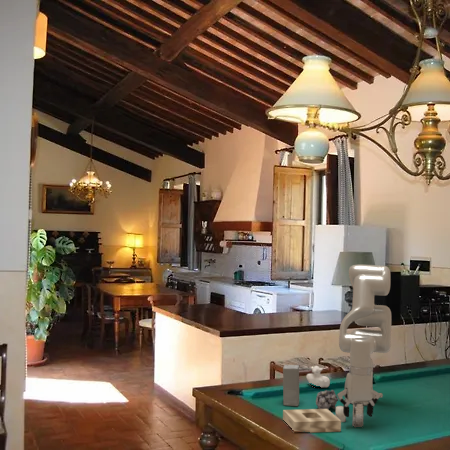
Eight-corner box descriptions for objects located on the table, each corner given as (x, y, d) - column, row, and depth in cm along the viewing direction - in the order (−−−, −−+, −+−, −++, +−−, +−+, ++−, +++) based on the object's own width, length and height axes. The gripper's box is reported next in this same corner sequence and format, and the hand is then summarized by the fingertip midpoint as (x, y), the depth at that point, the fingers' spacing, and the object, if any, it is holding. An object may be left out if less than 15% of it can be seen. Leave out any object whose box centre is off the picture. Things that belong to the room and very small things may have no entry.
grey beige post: (360, 424, 223) (361, 400, 223) (364, 427, 219) (365, 403, 219) (350, 424, 222) (351, 401, 223) (355, 428, 219) (355, 404, 219)
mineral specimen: (322, 407, 231) (325, 383, 236) (306, 409, 238) (309, 386, 243) (343, 418, 236) (346, 394, 241) (326, 420, 242) (330, 397, 248)
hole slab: (326, 418, 228) (327, 408, 228) (340, 431, 214) (341, 420, 214) (282, 420, 224) (283, 409, 224) (294, 433, 211) (294, 422, 211)
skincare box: (298, 407, 242) (299, 369, 242) (281, 405, 243) (282, 367, 244) (299, 401, 250) (301, 364, 250) (283, 399, 252) (284, 363, 252)
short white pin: (343, 418, 229) (343, 405, 229) (347, 421, 225) (347, 409, 225) (333, 418, 229) (334, 406, 229) (337, 422, 225) (338, 409, 225)
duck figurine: (305, 389, 278) (299, 373, 272) (311, 377, 283) (305, 361, 277) (328, 394, 271) (322, 377, 266) (334, 381, 276) (328, 365, 270)
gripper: (376, 368, 226) (374, 412, 226) (334, 368, 223) (332, 413, 223) (385, 372, 219) (383, 418, 219) (342, 373, 216) (340, 419, 215)
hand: (358, 415), depth 221 cm, fingers open, 9 cm apart
